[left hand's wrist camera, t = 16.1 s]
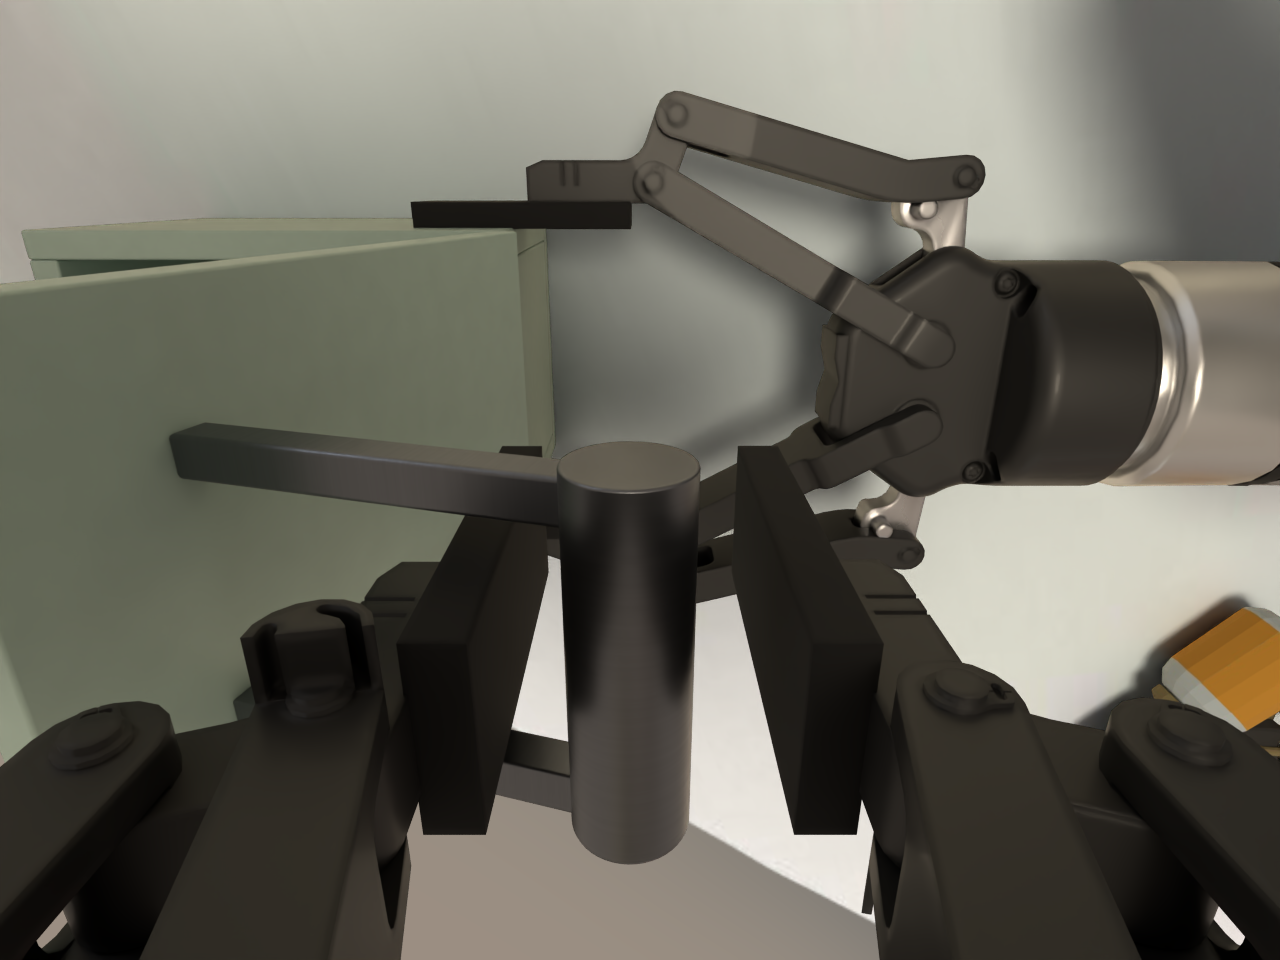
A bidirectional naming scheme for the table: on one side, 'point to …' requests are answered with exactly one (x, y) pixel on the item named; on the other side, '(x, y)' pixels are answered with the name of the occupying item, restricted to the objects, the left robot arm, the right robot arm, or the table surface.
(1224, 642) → the spray gun
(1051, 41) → the table surface
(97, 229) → the chest
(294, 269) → the lid
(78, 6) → the table surface
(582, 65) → the table surface
